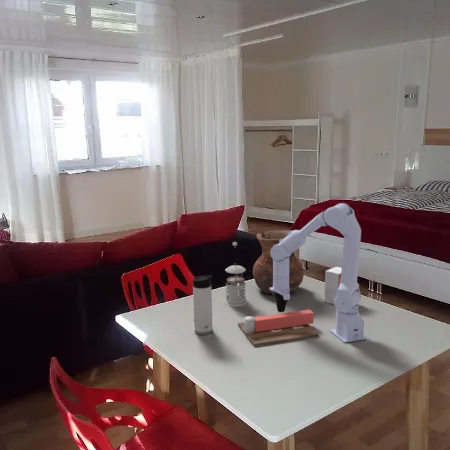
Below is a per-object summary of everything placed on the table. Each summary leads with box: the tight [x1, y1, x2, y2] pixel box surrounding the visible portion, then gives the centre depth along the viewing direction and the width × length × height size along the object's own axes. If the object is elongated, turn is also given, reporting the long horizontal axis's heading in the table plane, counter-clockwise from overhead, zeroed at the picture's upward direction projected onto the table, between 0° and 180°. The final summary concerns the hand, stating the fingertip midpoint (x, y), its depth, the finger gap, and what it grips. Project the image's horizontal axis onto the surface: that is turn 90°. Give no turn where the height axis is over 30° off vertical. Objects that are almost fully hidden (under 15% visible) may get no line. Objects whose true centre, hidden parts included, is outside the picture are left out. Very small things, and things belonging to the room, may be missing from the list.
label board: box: [237, 321, 320, 348], centre depth 158 cm, size 17×23×1 cm
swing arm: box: [243, 309, 315, 333], centre depth 158 cm, size 4×25×4 cm, turn 106°
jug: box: [252, 229, 305, 295], centre depth 196 cm, size 22×21×25 cm
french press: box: [223, 241, 249, 308], centre depth 184 cm, size 10×12×25 cm
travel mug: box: [192, 274, 214, 336], centre depth 157 cm, size 6×7×20 cm
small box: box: [324, 266, 342, 305], centre depth 183 cm, size 8×6×13 cm
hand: (281, 311), depth 167 cm, fingers closed
